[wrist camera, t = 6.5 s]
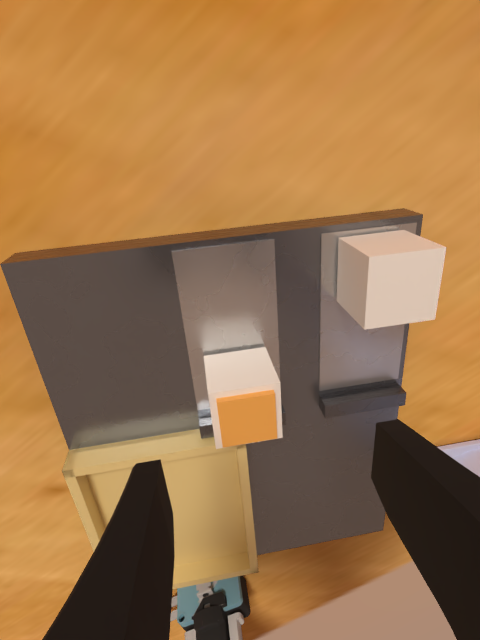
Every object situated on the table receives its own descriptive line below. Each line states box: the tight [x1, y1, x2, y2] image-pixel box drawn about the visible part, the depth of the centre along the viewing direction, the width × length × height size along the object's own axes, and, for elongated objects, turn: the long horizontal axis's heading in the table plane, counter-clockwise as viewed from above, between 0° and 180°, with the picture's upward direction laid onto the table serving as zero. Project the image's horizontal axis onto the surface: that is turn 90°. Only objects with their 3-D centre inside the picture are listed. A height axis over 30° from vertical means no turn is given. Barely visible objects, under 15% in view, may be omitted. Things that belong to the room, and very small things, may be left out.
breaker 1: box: [204, 347, 283, 449], centre depth 18 cm, size 3×3×3 cm
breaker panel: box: [0, 209, 423, 555], centre depth 21 cm, size 18×22×3 cm
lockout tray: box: [62, 429, 259, 590], centre depth 22 cm, size 9×11×1 cm
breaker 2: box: [337, 230, 446, 330], centre depth 16 cm, size 3×3×3 cm
